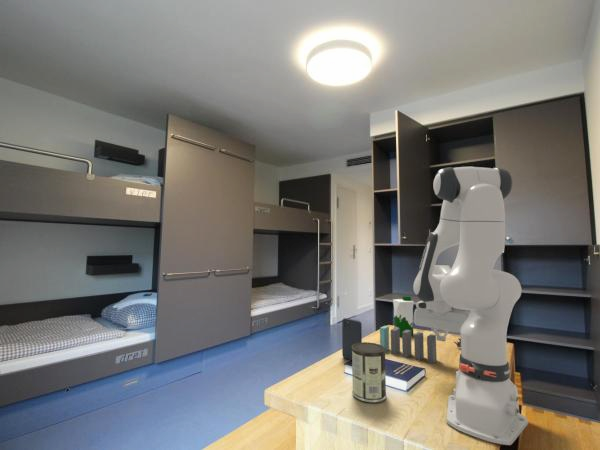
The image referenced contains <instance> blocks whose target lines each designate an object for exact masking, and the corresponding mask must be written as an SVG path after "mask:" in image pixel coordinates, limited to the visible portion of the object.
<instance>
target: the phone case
mask: <svg viewBox="0 0 600 450" xmlns="http://www.w3.org/2000/svg"><path fill="white" fill-rule="evenodd" d="M341 322H342V323H341V324H342V325H341V326H342V327H341V328H342V329H341V331H342V335H341V337H342V339H341V340H342V343H341V345H342V349H341V350H342V351H341V353H342V357H343V359H345V360H349V361H351V360H352V345H353V344H356V343H361V342H362V341H363V339H362V335H363V333H362V328H363V327H362V322H361V321H360V320H358V319H357V320H356V319H352V318H347V317H345V318H343V319H342V320H341Z"/></svg>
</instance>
